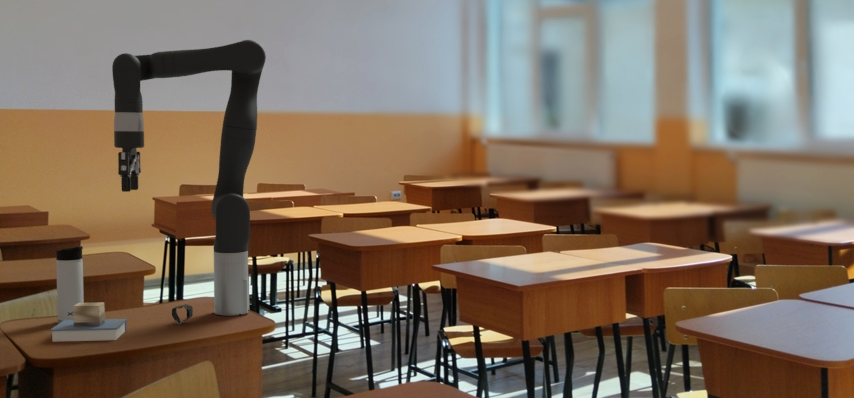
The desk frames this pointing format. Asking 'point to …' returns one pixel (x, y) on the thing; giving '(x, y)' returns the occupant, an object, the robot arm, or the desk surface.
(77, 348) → the desk surface
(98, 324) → the tan wooden block
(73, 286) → the travel mug
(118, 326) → the textbook
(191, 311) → the wristwatch
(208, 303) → the desk surface
